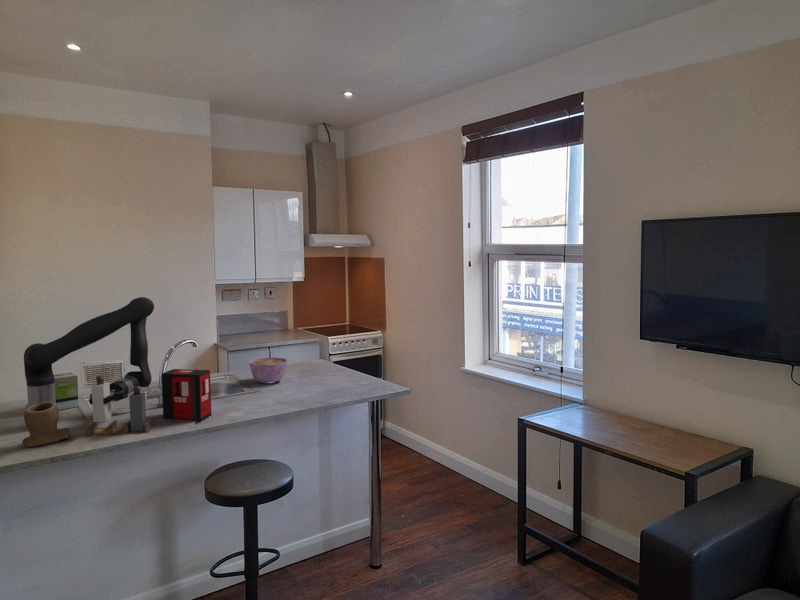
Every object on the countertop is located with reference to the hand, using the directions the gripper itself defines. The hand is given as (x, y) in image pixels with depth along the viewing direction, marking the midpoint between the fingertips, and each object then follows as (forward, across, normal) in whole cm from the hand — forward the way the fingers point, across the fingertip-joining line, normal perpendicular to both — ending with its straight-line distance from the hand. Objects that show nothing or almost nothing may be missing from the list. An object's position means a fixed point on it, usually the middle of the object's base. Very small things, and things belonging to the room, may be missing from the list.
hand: (97, 401), depth 203 cm
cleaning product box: (-21, +25, +14) cm, 36 cm away
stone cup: (+6, -16, +14) cm, 22 cm away
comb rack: (-3, +6, +14) cm, 15 cm away
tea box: (-37, -38, +14) cm, 55 cm away
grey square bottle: (-5, +12, +13) cm, 18 cm away
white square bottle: (-3, 0, +8) cm, 8 cm away
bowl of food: (-84, +46, +15) cm, 97 cm away
